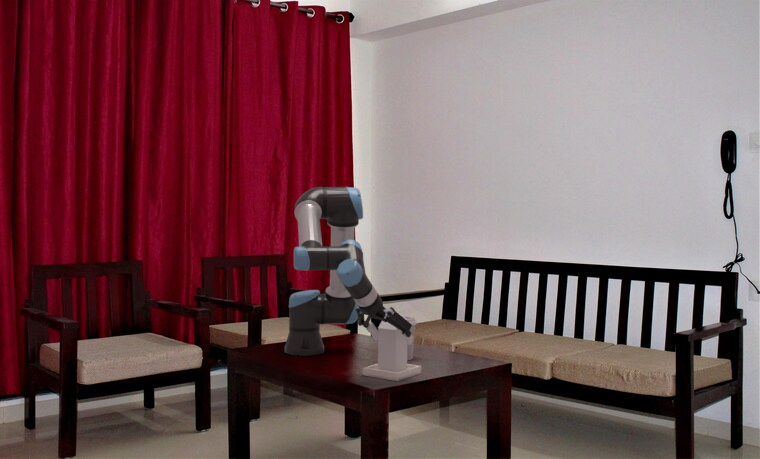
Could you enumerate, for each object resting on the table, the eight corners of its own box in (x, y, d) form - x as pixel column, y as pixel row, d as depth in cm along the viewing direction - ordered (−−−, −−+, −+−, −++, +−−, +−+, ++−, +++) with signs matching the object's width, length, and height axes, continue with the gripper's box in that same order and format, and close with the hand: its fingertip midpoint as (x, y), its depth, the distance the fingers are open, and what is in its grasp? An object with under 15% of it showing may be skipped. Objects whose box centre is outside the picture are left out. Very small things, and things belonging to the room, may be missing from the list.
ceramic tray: (362, 375, 246) (362, 367, 246) (387, 367, 257) (387, 360, 257) (397, 381, 238) (397, 373, 238) (421, 373, 249) (421, 365, 249)
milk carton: (395, 375, 242) (395, 317, 242) (377, 372, 246) (377, 315, 246) (407, 371, 248) (407, 314, 247) (389, 368, 252) (389, 313, 252)
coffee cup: (414, 361, 267) (414, 320, 266) (388, 360, 269) (388, 319, 268) (418, 356, 276) (418, 316, 276) (393, 355, 278) (393, 315, 278)
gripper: (331, 304, 240) (359, 344, 253) (395, 311, 226) (421, 352, 238) (341, 287, 244) (368, 326, 257) (404, 292, 230) (430, 334, 242)
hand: (394, 339), depth 248 cm, fingers open, 13 cm apart
